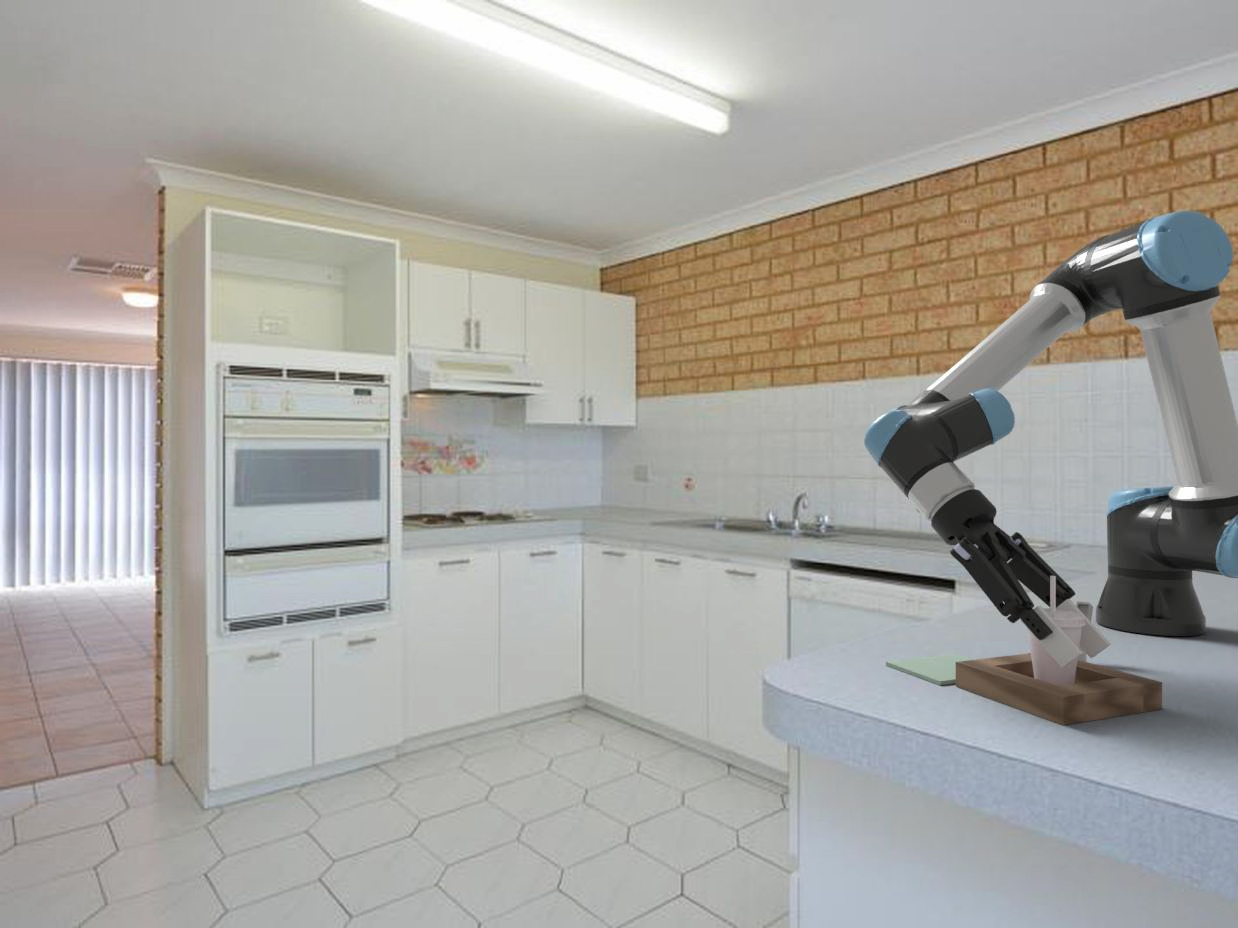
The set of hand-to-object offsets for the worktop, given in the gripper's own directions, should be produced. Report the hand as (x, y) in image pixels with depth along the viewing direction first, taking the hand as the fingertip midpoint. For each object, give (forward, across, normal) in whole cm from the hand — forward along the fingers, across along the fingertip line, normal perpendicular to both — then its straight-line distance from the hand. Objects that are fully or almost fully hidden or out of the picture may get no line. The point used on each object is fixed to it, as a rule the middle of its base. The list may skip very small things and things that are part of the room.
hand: (1086, 655), depth 88 cm
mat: (-8, 0, -16) cm, 18 cm away
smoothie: (+1, 0, -6) cm, 7 cm away
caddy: (+1, 0, -6) cm, 7 cm away
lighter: (-2, -19, -11) cm, 22 cm away
